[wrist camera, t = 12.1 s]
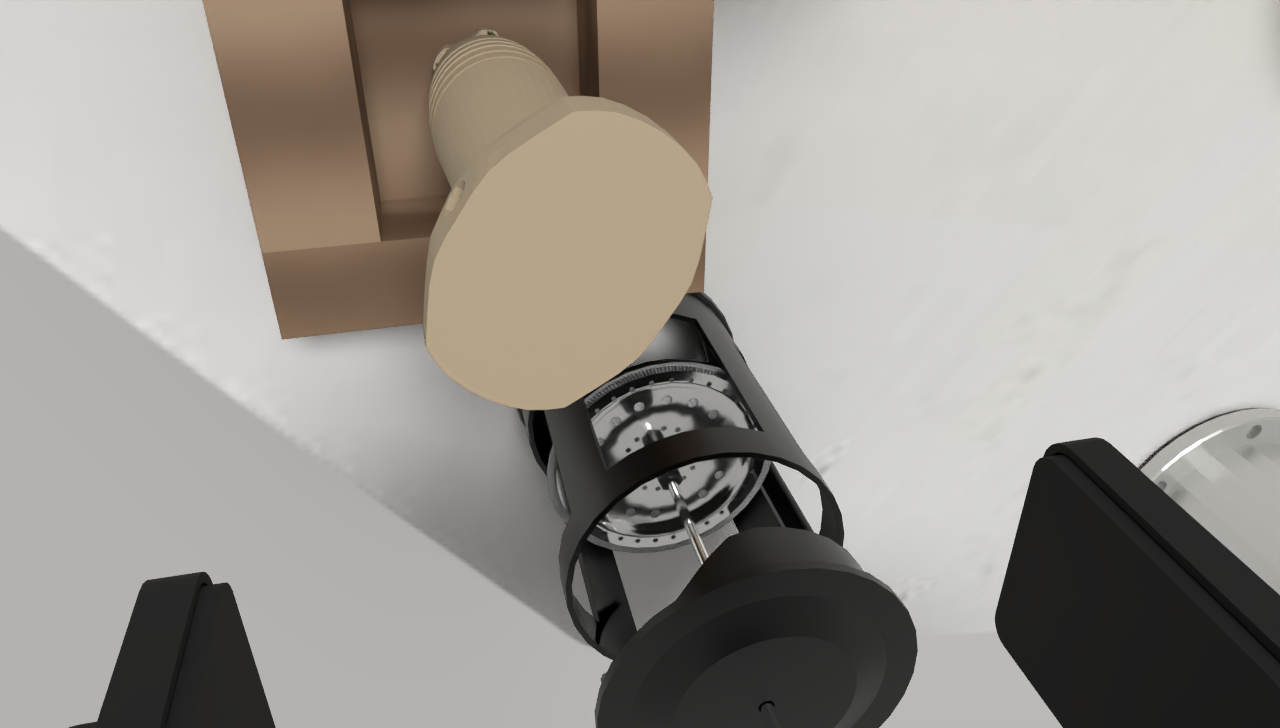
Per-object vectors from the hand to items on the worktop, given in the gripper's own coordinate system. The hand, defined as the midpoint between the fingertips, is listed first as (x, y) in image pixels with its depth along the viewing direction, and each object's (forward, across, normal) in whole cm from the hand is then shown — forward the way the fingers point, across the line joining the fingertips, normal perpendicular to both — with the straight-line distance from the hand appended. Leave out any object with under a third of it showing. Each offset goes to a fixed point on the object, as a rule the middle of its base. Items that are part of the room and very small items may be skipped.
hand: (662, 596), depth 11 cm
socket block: (+25, 0, 0) cm, 25 cm away
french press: (+25, -5, +13) cm, 29 cm away
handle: (+24, 0, 0) cm, 24 cm away
